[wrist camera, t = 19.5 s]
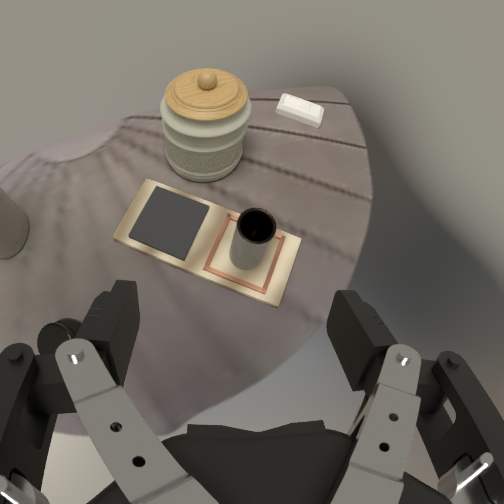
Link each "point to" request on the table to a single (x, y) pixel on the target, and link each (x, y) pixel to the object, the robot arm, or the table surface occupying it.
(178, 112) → the jar
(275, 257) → the board
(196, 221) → the pad
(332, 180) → the table surface
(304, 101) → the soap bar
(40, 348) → the supplement bottle
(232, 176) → the table surface
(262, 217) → the grey tumbler
